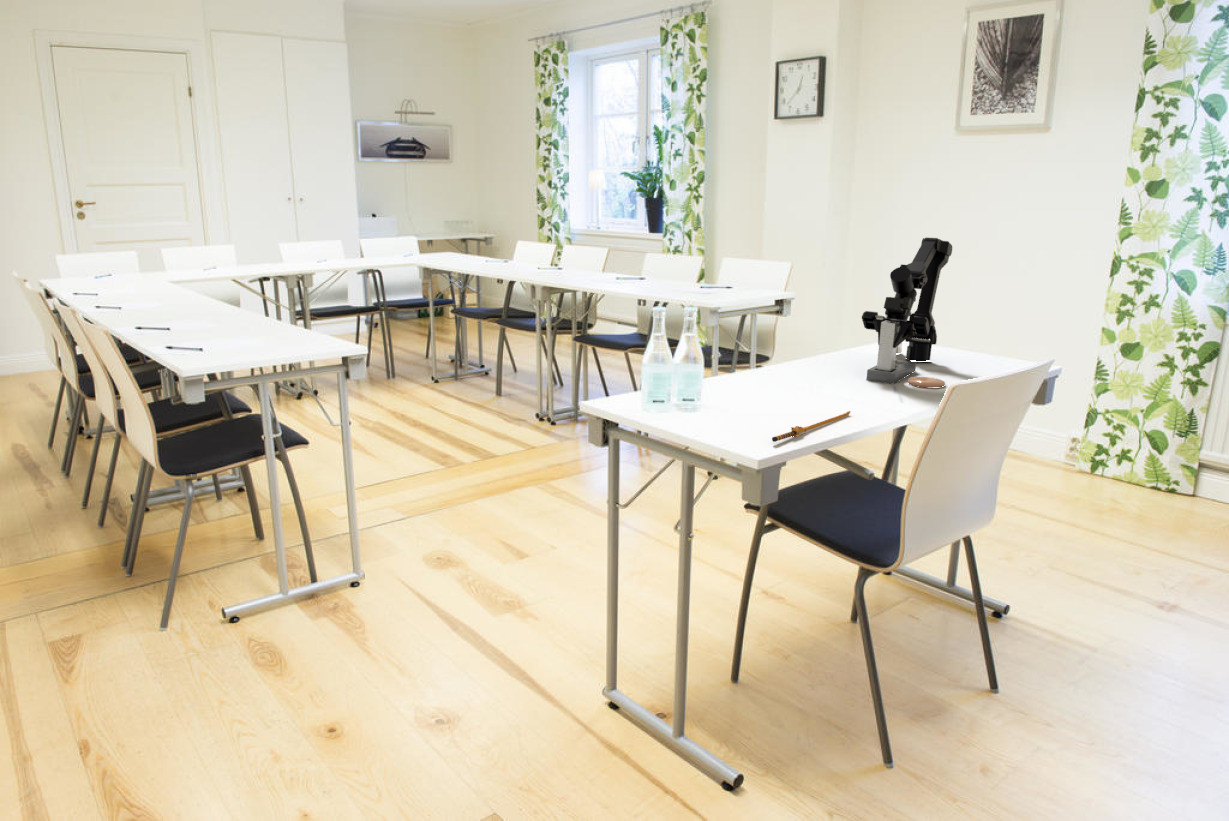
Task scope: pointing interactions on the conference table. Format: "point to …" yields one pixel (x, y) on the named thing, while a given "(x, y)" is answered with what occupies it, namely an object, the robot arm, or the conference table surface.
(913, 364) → the rack rail
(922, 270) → the robot arm
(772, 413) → the conference table surface
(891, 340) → the steel peg
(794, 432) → the katana
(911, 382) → the terracotta coaster
